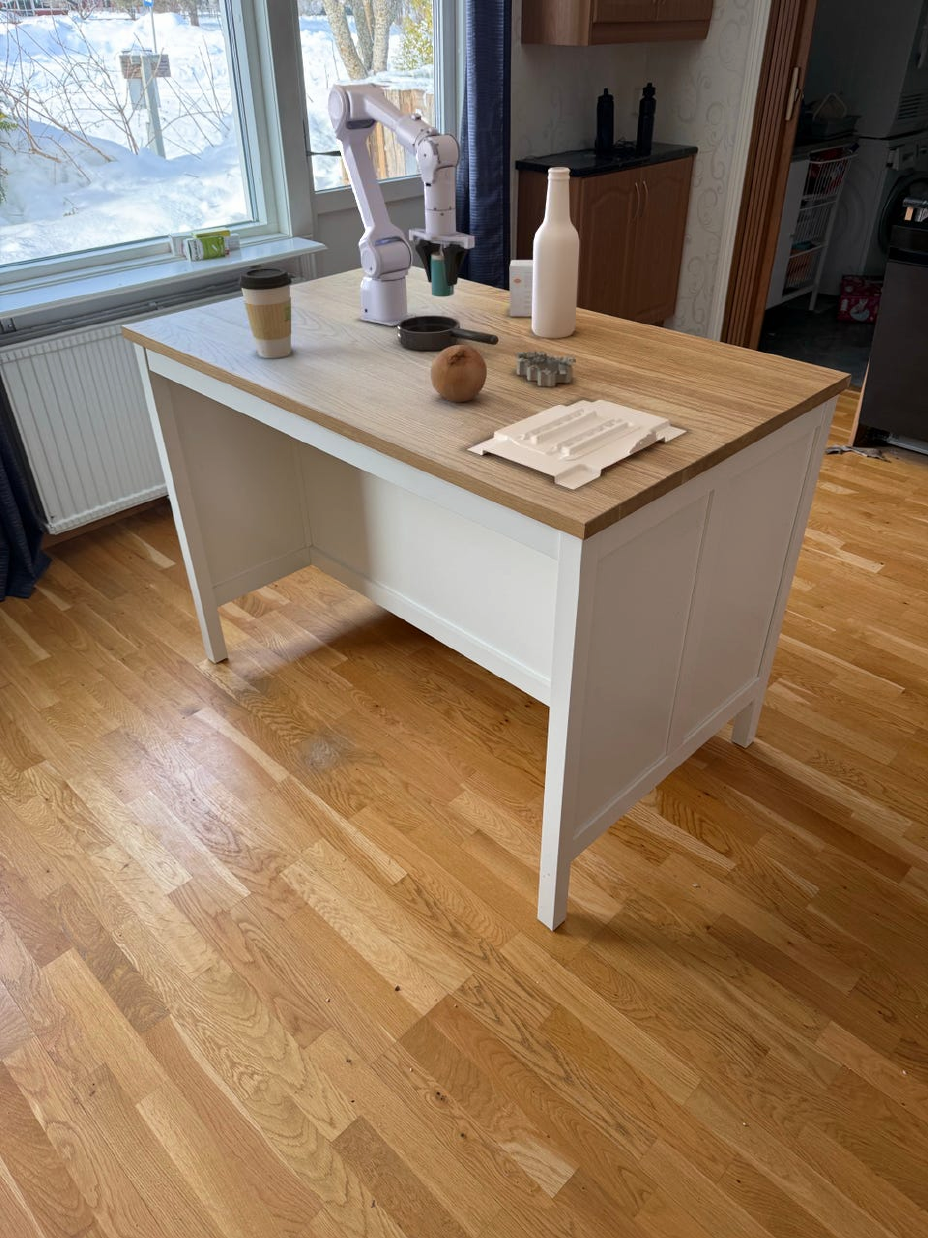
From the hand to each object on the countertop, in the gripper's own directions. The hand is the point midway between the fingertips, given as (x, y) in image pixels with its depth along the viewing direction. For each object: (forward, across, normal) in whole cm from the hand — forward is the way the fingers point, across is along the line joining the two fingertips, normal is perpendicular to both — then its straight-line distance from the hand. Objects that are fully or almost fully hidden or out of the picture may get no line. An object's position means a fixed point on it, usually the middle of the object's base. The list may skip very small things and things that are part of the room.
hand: (442, 283), depth 175 cm
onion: (+10, +24, -26) cm, 37 cm away
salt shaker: (+2, 0, 0) cm, 2 cm away
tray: (+10, +50, -30) cm, 60 cm away
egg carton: (+10, +30, -10) cm, 33 cm away
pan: (+10, 0, -5) cm, 11 cm away
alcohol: (+10, +17, +14) cm, 25 cm away
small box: (+11, +5, +23) cm, 26 cm away
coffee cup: (+11, -21, -27) cm, 36 cm away
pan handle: (+8, +11, -5) cm, 15 cm away
